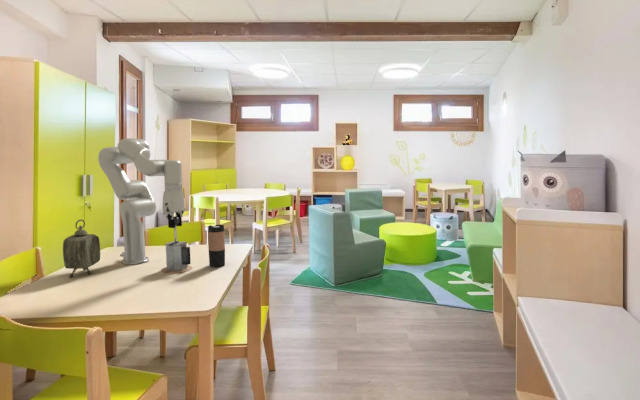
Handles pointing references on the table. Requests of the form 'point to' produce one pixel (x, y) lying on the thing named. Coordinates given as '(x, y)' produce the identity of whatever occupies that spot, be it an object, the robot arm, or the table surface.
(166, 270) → the disc
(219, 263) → the travel mug
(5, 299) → the table surface
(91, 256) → the tabletop clock
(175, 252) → the grey slotted housing
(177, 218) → the plunger
